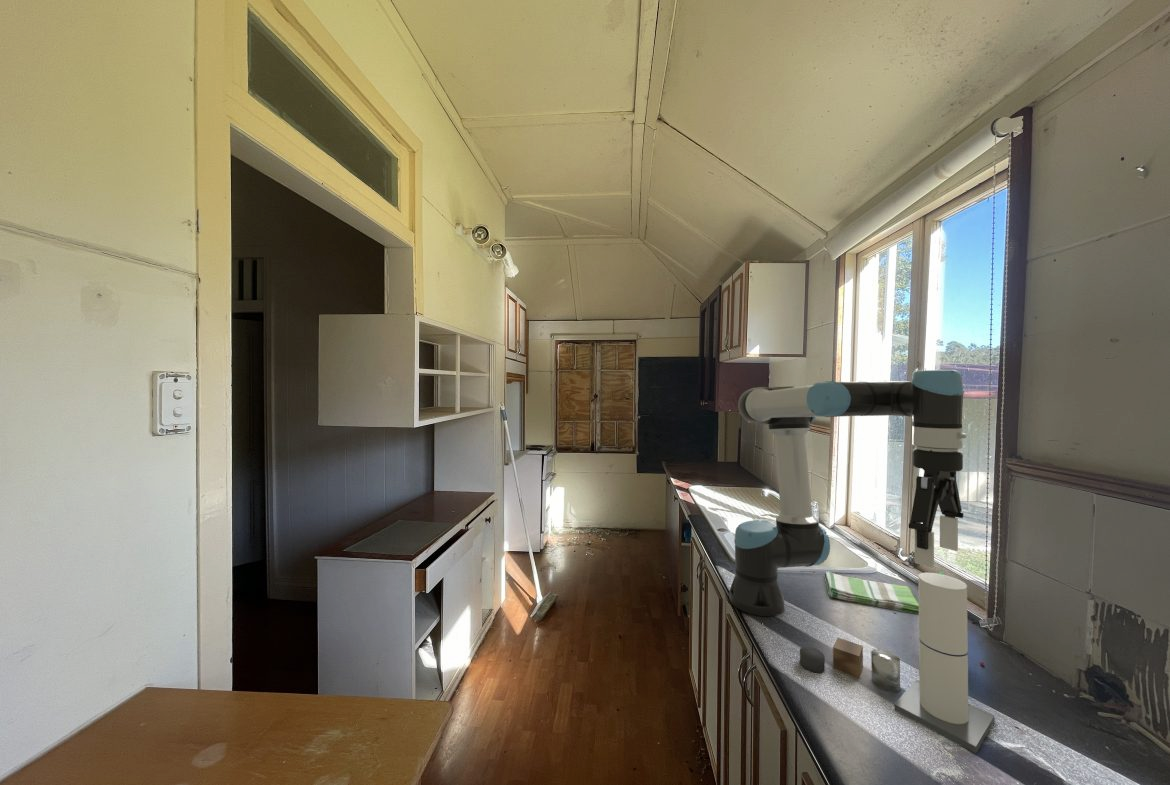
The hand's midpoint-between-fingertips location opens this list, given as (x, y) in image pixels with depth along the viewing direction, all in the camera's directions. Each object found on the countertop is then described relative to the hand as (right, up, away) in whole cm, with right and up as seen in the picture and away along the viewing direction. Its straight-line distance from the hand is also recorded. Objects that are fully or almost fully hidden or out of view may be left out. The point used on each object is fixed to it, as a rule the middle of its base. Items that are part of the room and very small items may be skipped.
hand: (937, 556), depth 81 cm
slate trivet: (0, -30, -1) cm, 30 cm away
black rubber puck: (-17, -31, +14) cm, 38 cm away
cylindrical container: (0, -29, -1) cm, 29 cm away
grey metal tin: (-5, -31, +8) cm, 32 cm away
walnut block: (-9, -31, +13) cm, 34 cm away
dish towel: (+19, -31, +47) cm, 59 cm away
